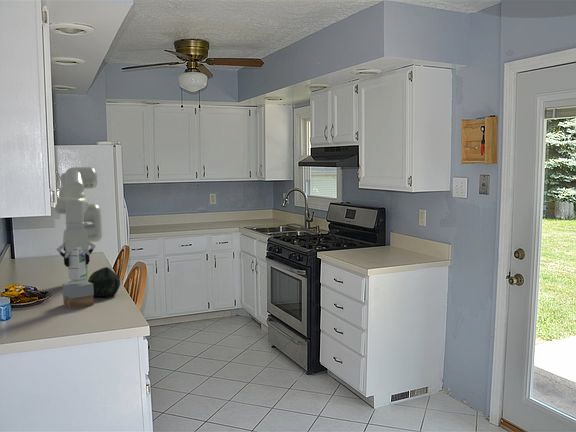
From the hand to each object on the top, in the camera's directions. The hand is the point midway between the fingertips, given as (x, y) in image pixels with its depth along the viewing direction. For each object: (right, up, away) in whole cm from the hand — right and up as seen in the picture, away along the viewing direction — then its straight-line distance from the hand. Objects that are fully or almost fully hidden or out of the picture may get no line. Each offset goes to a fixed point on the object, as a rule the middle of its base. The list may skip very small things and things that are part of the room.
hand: (77, 264), depth 236 cm
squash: (+6, -17, +18) cm, 26 cm away
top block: (0, -13, +1) cm, 14 cm away
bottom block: (0, -18, +2) cm, 19 cm away
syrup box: (0, -6, +1) cm, 6 cm away
